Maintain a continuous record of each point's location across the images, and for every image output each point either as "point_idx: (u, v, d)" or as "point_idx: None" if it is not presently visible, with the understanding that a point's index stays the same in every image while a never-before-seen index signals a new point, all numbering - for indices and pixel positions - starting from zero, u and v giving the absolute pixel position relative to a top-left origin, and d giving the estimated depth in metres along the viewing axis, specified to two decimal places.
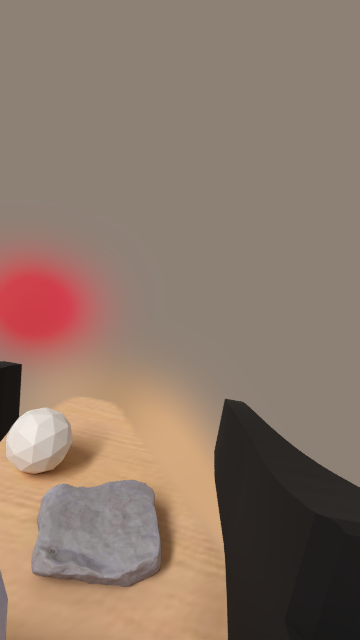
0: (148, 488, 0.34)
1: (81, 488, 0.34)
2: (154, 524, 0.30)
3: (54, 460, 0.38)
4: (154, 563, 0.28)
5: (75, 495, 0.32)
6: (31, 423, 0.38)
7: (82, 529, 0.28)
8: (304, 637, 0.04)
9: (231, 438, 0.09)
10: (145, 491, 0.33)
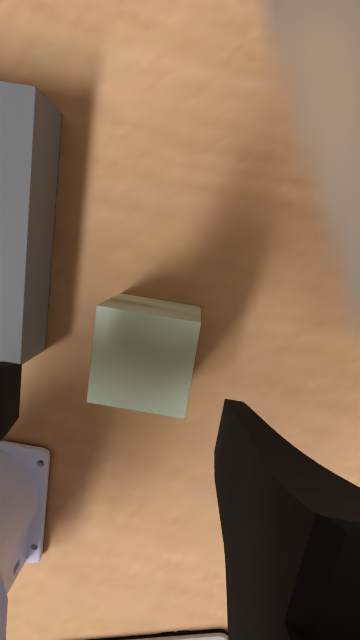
0: None
1: None
2: None
3: None
4: None
5: None
6: None
7: None
8: (304, 637, 0.04)
9: (231, 438, 0.09)
10: None
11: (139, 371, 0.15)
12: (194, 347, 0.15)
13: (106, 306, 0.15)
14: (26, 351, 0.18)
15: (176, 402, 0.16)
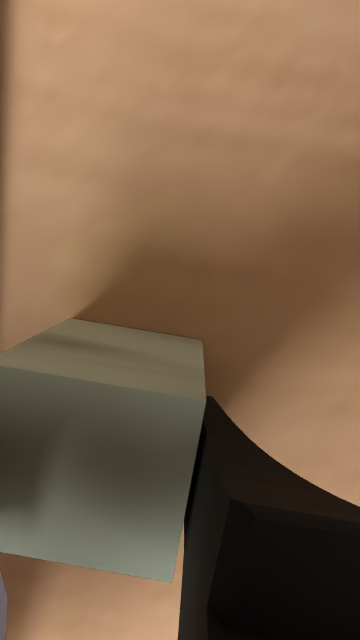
0: None
1: None
2: None
3: None
4: None
5: None
6: None
7: None
8: (223, 622, 0.04)
9: None
10: None
11: (78, 494, 0.08)
12: (191, 450, 0.07)
13: (5, 363, 0.07)
14: None
15: (155, 553, 0.08)
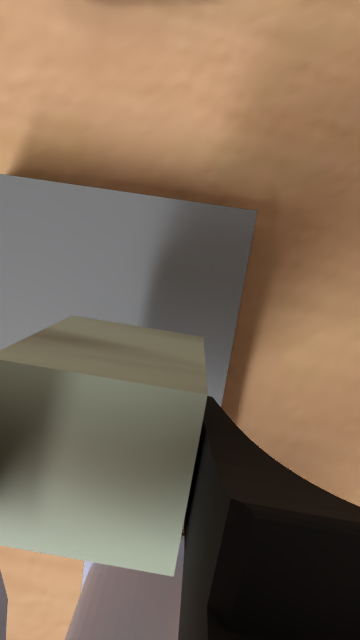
0: None
1: None
2: None
3: None
4: None
5: None
6: None
7: None
8: (223, 622, 0.04)
9: None
10: None
11: (80, 488, 0.08)
12: (192, 444, 0.07)
13: (8, 358, 0.07)
14: None
15: (157, 546, 0.08)
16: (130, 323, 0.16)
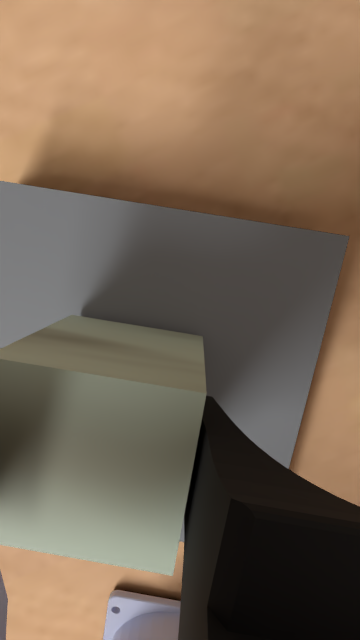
0: None
1: None
2: None
3: None
4: None
5: None
6: None
7: None
8: (223, 622, 0.04)
9: None
10: None
11: (79, 487, 0.08)
12: (191, 442, 0.07)
13: (7, 357, 0.07)
14: None
15: (156, 545, 0.08)
16: None
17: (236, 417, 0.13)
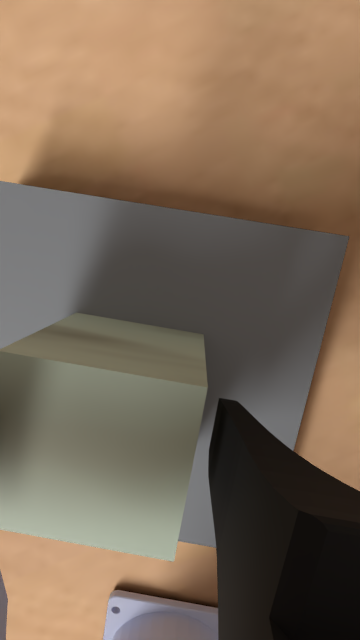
0: None
1: None
2: None
3: None
4: None
5: None
6: None
7: None
8: (288, 634, 0.04)
9: (224, 437, 0.09)
10: None
11: (85, 476, 0.08)
12: (193, 434, 0.08)
13: (18, 352, 0.08)
14: None
15: (158, 532, 0.08)
16: None
17: None
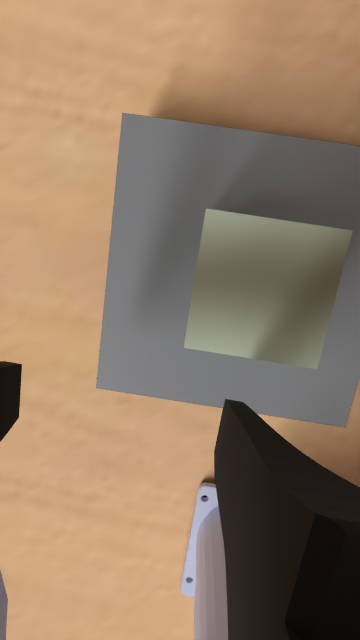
0: None
1: None
2: None
3: None
4: None
5: None
6: None
7: None
8: (304, 637, 0.04)
9: (231, 438, 0.09)
10: None
11: (259, 303, 0.11)
12: (339, 267, 0.11)
13: (218, 211, 0.11)
14: None
15: (307, 346, 0.12)
16: None
17: None
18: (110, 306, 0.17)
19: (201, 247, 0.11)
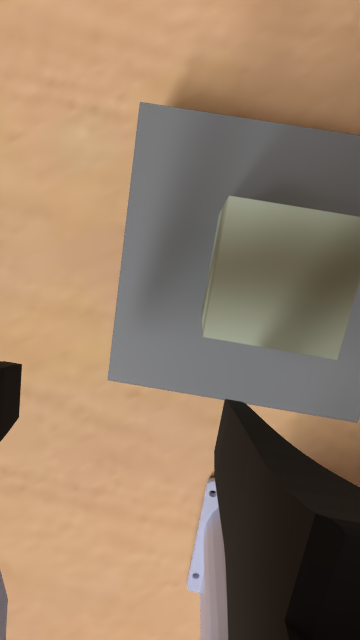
0: None
1: None
2: None
3: None
4: None
5: None
6: None
7: None
8: (304, 637, 0.04)
9: (231, 438, 0.09)
10: None
11: (280, 292, 0.11)
12: None
13: (241, 198, 0.11)
14: None
15: (328, 336, 0.11)
16: None
17: None
18: (123, 297, 0.17)
19: (223, 235, 0.11)
